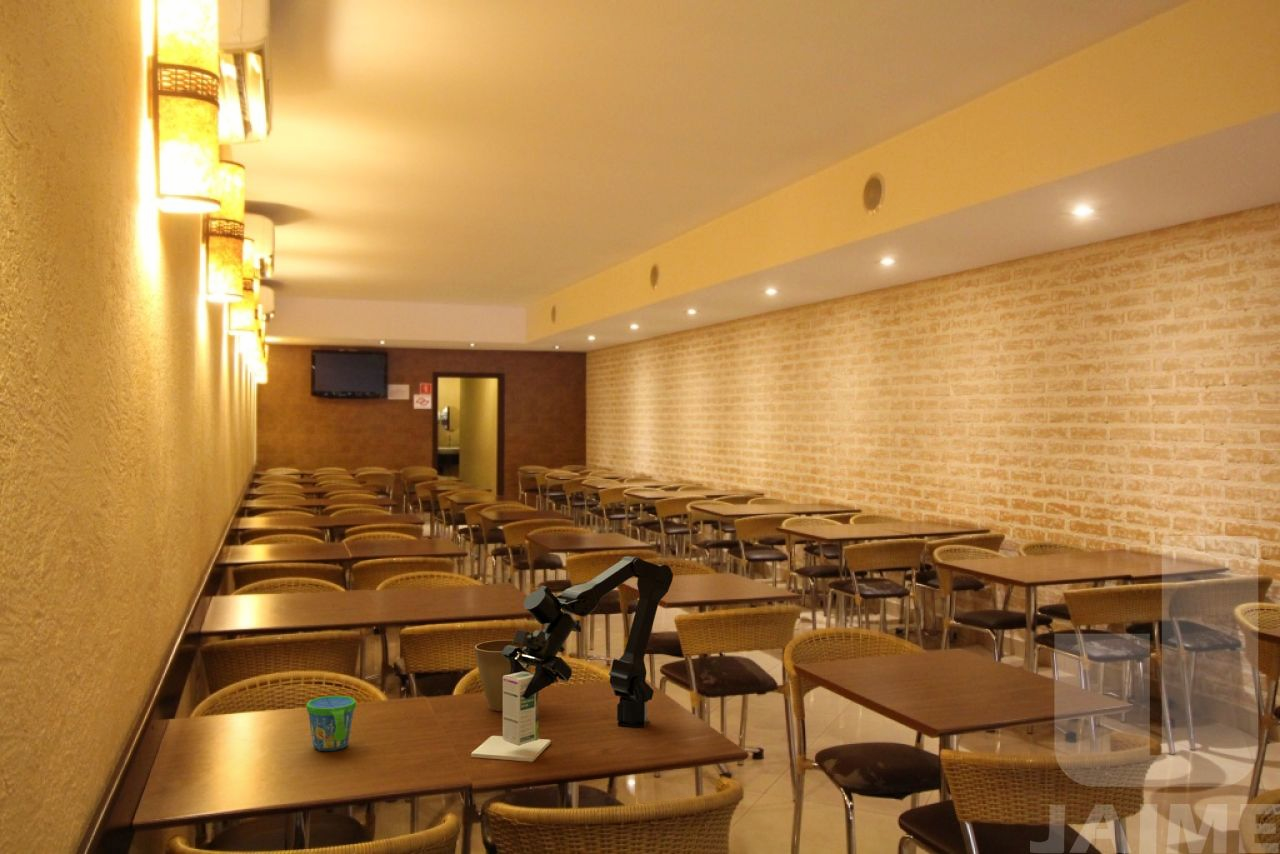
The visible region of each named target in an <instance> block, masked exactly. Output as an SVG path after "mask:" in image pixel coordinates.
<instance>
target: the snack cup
mask: <svg viewBox="0 0 1280 854" xmlns="http://www.w3.org/2000/svg"><path fill="white" fill-rule="evenodd" d="M356 702H357V701H356V699H355V698H354V697H350V696H345V695H328V696H319V697H316V698H313V699H311V700H308V701H307V703H306V705H305V707H306V711H307V713H308V719H309V726H310V732H311V741H312V745H313V748H315V749H316V750H318V751H324V752H333V751H338V750H339V751H340V750H343V749H344V748H346V747H348V745H349V742H350V741H349V740H350V737H351V729H352V724H353V718H354V717H353V715H354V711H355V709H356V707H357V703H356Z"/></svg>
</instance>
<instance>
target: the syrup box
mask: <svg viewBox="0 0 1280 854" xmlns="http://www.w3.org/2000/svg"><path fill="white" fill-rule="evenodd" d="M534 675H535V673H533V672H531V671H530V672H524V671H522V672H519V673H514V674H510V675H505V676H503V711H502V736H503V740H505V741H507V742H510V743H512V744H515V745H518V746H520V745H522V744H525V743H528V742H532V741H536V740H538V739H539V698H540V697H539V693H540V691H538V692H537V693H535V694H534V695H532V696H530V697H529V698H527V699H525V698H524V697H523V695H524V693H525V690H526V689H527V687H528V685H529V683H530V682H531V680H532V678H533V676H534Z"/></svg>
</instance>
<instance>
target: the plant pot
mask: <svg viewBox="0 0 1280 854" xmlns="http://www.w3.org/2000/svg"><path fill="white" fill-rule="evenodd" d="M512 642H513V639H497V640H489V641H484V642H480V643H478V644H476V645H475V646H474V651H475V656H476V657H475V658H476V662H477V666H478V667H477V668H478V669H477V670H478V673H479V676H480V681H481V684H482V689H483V692H484V695H485V697H486V698H485V699H486V700H487V703H488V706H489V708H490V709H491V710H492V711H494V712H495V711H496V712H503V676H505V675H510V669H511V665H510V662H509V661H508V660H507V659H506V658H505V657H504V656H503V655H502V654H501V652H502V651H503V649H504V648H505V646H508V645H512V646H516V647H520V648H521V650H522V651H523V652H524V653H525V654H526V655H528V652H526V651H525V650H524V649H523V648H524V646H522V645H519V644H514V643H512ZM531 667H532V665H529V666H528V668H526V670H527V671H528V672H530V673H531Z"/></svg>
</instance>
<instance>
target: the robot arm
mask: <svg viewBox="0 0 1280 854" xmlns="http://www.w3.org/2000/svg"><path fill="white" fill-rule="evenodd" d="M632 577H635V578H637V581H636V587H637V590H638V595H639V596H638V601H637V605H636V608H635V612H634V616H633V620H632V624H631V627H630V629H629V630H630V631H629V635H628V638H627V641H626V642H627V643H626V645H625V649H624V652H623V655H621V657H620V658H619V659H618V658H614V659H613V661H612V662H611V663H612V664H611V669H610V671H609V673H608V676H609V684H610V686H611V688H612V689H613V693H614V696H615V697H619V702H618V703H617V706H616V707H617V709H616V711H617V712H616V715H617V717H616V720H617V726H620V727H621V726H622V727H635V728H644V727H645V726H646V725H647V723H648V722H649V717H648V702H649V701H652V699H653V697H654V689H653V688H652V687H651V686H650V684H648V683H647V682H646V679H647V678H646V677H647V668H646V663H645V656H646V652H647V648H648V644H649V641H650V637H651V633H652V629H653V625H654V622H655V619H656V614H657V611H658V606H659V603H660V602H661V600H662V599H663V598H664V597H665V596H666V594H667V593H668V592H669V591H670V587H671V585H672V582H673V579H674V573H673V571H672V569H671V567H670V566H668V564H662V563H655V562H649V561H646V560H643V559H641V558H640V557H636V556H631V555H626V556H624V557H622V558H621V559H620V561H618V562H617V563H615V564H613V565H612V566H610V567H609V568H607V569H606V570H604V571H603V572H601V573H600V574H599V575H597V576H595V577H594V578H593V579H591V580H589V581H587V582H584V583H581V584H576V585H574V586H571V587H569V588H566V589H564V591H562V592H561V594H558V595H554V593H553V592H552V590H551V589H550V588H549V587H548V586H545V585H541V586H540V587H539V588H538V589H536V590H534V591H532V592H531V593H530V594H528V595H527V596H526V598H525V599H524V601H523V607H524V609H526V611H527V612H528V613H529V614H530V615H531V616H532V617H533V618H534V619H535V620H536V622H538V623H539V624H540V625H545V626H544V627H543V629H542V630H538V629H536V630H534V632H530V631H526V630H522V629H518V628H517V629H515V634H514V637H513V639H512V640H513V642H512V643H514V644H519V645H522V646H524V648H523V649H524V650H525V651H526V652H528V655H526V654H525V653H524V652H523V651H522V650H521V648H520V647H516V646H512V645H508V646H505V648H504V649H503V651H502V652H501V654H502V655H503V656H504V657H505V658H506V659H507V660H508V661H509V662H510V665H511V669H510V674H514V673H519V672H522V671H524V672H528V671H527V670H526V668H528V666H529V665H531V667H532V666H533V667H535V669H534V670H535V671H534V674H535V675H534V676H533V678H532V680H531V682H530V683H529V685H528V687H527V689H526V690H525V693H524V695H523V697H524V698H525V699H527V698H529V697H530V696H532V695H534V694H535V693H537V692H538V691H539V692H540V691H542V690H543V689H545V688H546V687H548V686H550V685H552V684H554V683H558V682H559V680H560V681H563V682H567V683H568V682H569V681H570V679H571V677H572V675H573V668H572V667H571V666H570V665H569V664H568V663H567V662H566V661H565V660H564V658H563V657H559V656H557V655H558V653H561V654H563V653H564V651H565V648H564V644H565V643H566V641H567V639H568V638H569V636H570V635H571V633H572V632H576V633H581V632H582V627H581V623H580V622H581V621H580V619H574V617H573V616H578V617H587V616H588V615H589V614H590V613H592V612H593V611H594V610H595V609H596V608H597V607H598V605H599V603H600V601H601V599H602V598H604V596H606V595H607V594H609V593H611V592H612V591H614V590H615V589H616V588H618V587H619V586H620V585H622V584H624V583H625V582H626V581H628V580H630V579H631V578H632ZM571 615H573V616H571Z"/></svg>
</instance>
